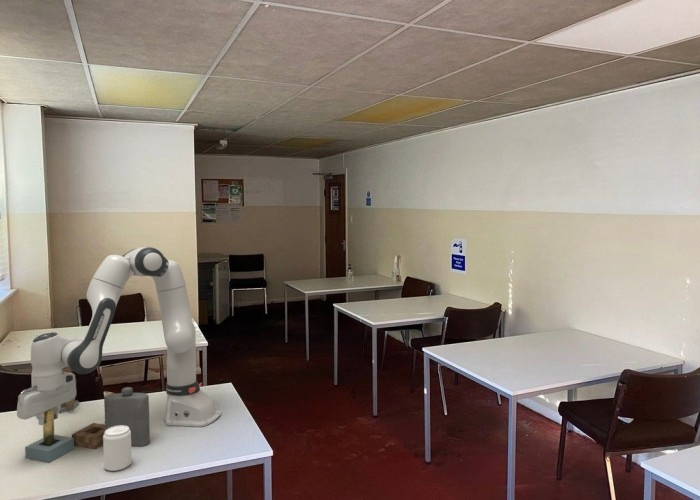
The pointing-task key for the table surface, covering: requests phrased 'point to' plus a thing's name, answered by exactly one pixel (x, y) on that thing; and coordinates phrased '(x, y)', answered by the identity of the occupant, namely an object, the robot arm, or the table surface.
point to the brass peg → (48, 427)
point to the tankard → (69, 402)
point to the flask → (129, 414)
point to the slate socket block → (49, 449)
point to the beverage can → (117, 448)
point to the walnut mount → (90, 436)
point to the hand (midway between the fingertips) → (48, 421)
